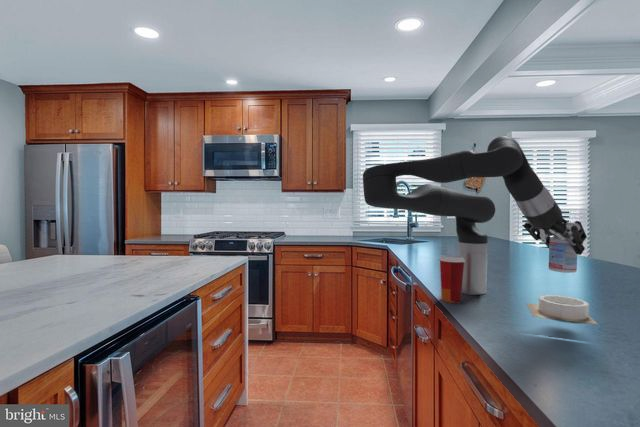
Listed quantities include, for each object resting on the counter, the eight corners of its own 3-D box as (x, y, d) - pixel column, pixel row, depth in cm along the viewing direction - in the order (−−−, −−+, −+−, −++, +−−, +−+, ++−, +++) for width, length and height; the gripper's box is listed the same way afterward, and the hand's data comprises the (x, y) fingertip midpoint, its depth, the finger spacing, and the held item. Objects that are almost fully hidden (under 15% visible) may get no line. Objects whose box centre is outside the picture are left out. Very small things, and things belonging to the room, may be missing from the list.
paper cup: (464, 299, 111) (465, 255, 111) (463, 305, 104) (464, 258, 104) (439, 296, 114) (439, 253, 114) (436, 301, 107) (437, 256, 107)
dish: (543, 316, 93) (543, 303, 93) (535, 305, 103) (536, 293, 103) (593, 322, 89) (594, 308, 89) (580, 310, 99) (581, 297, 99)
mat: (533, 318, 93) (533, 316, 93) (525, 304, 106) (525, 302, 105) (597, 326, 87) (597, 324, 87) (581, 310, 100) (581, 308, 100)
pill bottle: (543, 269, 94) (544, 227, 94) (564, 269, 94) (565, 227, 94) (560, 273, 88) (561, 228, 88) (582, 273, 88) (584, 229, 88)
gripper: (504, 214, 93) (534, 257, 97) (558, 216, 79) (590, 265, 84) (519, 195, 95) (548, 238, 99) (574, 193, 81) (605, 243, 86)
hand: (567, 250), depth 92 cm, fingers closed on pill bottle, 6 cm apart
